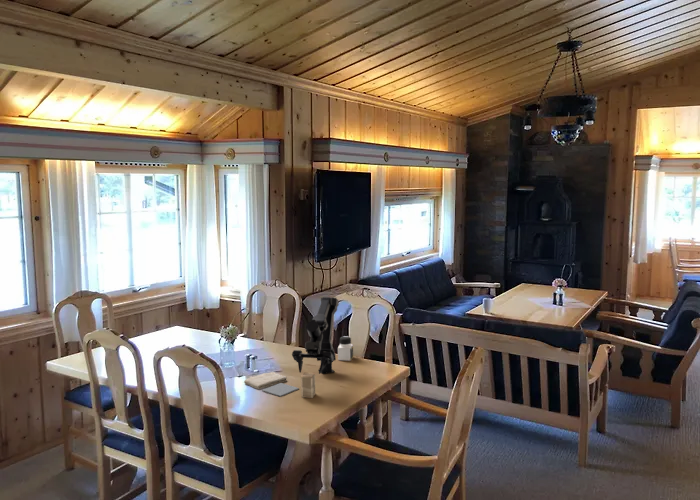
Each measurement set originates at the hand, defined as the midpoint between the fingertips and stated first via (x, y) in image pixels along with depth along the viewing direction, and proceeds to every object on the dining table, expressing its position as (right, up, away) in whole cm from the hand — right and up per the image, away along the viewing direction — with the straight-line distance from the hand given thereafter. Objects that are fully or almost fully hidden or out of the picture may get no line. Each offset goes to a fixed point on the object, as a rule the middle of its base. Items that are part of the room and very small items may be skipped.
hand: (309, 372), depth 269 cm
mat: (-14, -9, +6) cm, 18 cm away
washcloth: (-22, -9, +17) cm, 30 cm away
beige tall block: (0, -10, -1) cm, 10 cm away
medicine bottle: (+16, -3, +53) cm, 55 cm away
